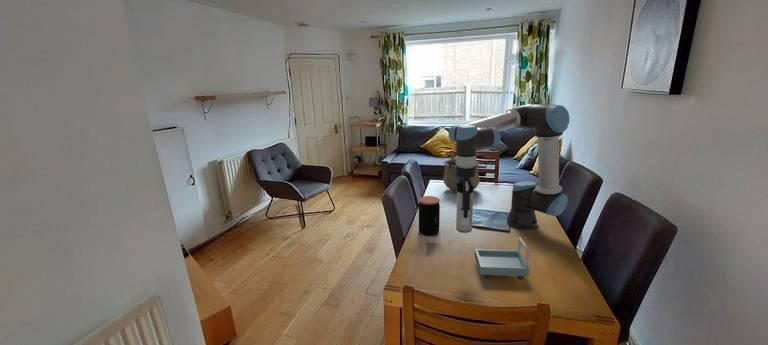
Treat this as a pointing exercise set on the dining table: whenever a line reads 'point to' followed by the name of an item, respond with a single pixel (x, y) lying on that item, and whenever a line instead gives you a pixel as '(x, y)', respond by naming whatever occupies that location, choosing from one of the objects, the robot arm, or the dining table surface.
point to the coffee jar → (429, 215)
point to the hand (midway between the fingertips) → (463, 220)
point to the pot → (452, 179)
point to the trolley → (503, 262)
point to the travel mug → (459, 212)
